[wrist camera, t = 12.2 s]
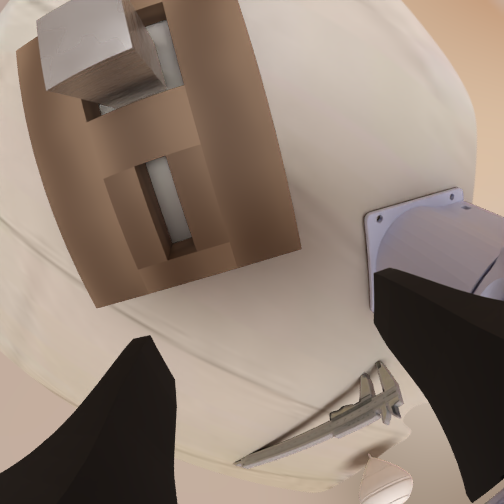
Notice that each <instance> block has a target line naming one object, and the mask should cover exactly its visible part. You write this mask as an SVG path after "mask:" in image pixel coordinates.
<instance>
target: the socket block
mask: <svg viewBox="0 0 504 504" xmlns="http://www.w3.org/2000/svg"><path fill="white" fill-rule="evenodd" d="M130 2H131V3H132V5H133V7H134V9H135V10H136V12H137V14H138V15H139V17H140V19H141V21H142V22H143V24H144V26H148V25H151V24H154V23H157V22H160V21H163V20H167V22H168V26H169V30H170V33H171V37H172V41H173V45H174V49H175V52H176V56H177V60H178V64H179V67H180V71H181V75H182V78H183V82H184V85H183V86H179V87H176V88H173V89H170V90H167V91H164V92H161V93H158V94H155V95H152V96H149V97H147V98H144V99H141V100H139V101H136V102H133V103H131V104H128V105H126V106H123V107H121V108H118V109H116V110H114V111H111V112H109V113H107V114H104V115H102V116H101V113H100V109H99V105H98V103H95V102H91V101H87V100H83V99H79V98H75V97H71V96H67V95H63V94H59V93H54V92H50V91H46V87H45V82H44V76H43V70H42V64H41V58H40V50H39V42H38V36H37V37H36V38H34V39H33V40H31V41H30V42H28V43H27V44H25V45H24V46H22V47H21V48H19V49H18V50H17V51H16V56H17V66H18V75H19V83H20V89H21V96H22V102H23V107H24V113H25V118H26V122H27V127H28V131H29V136H30V140H31V144H32V148H33V152H34V155H35V159H36V163H37V166H38V169H39V173H40V176H41V179H42V182H43V186H44V189H45V192H46V195H47V197H48V200H49V203H50V206H51V209H52V211H53V214H54V217H55V219H56V222H57V225H58V227H59V230H60V232H61V235H62V237H63V239H64V242H65V244H66V246H67V249H68V251H69V253H70V256H71V258H72V260H73V262H74V264H75V266H76V269H77V271H78V273H79V275H80V277H81V279H82V281H83V283H84V285H85V287H86V289H87V291H88V293H89V295H90V297H91V299H92V301H93V302H94V304H95V306H96V308H100V307H104V306H107V305H111V304H114V303H118V302H122V301H125V300H129V299H132V298H136V297H139V296H143V295H146V294H150V293H153V292H157V291H160V290H164V289H167V288H171V287H174V286H178V285H181V284H185V283H188V282H192V281H195V280H199V279H202V278H205V277H209V276H212V275H216V274H219V273H223V272H226V271H229V270H233V269H236V268H240V267H243V266H246V265H250V264H253V263H256V262H260V261H263V260H267V259H270V258H273V257H277V256H280V255H283V254H287V253H290V252H293V251H297V250H300V249H302V248H301V243H300V238H299V233H298V228H297V224H296V219H295V214H294V209H293V205H292V200H291V196H290V191H289V187H288V182H287V178H286V173H285V169H284V165H283V161H282V156H281V152H280V148H279V144H278V140H277V136H276V132H275V128H274V124H273V120H272V116H271V112H270V109H269V105H268V101H267V97H266V94H265V90H264V86H263V83H262V79H261V75H260V72H259V68H258V65H257V61H256V58H255V55H254V51H253V48H252V44H251V41H250V38H249V35H248V31H247V28H246V25H245V22H244V19H243V15H242V12H241V9H240V6H239V3H238V0H130ZM163 156H166V158H167V161H168V165H169V168H170V171H171V174H172V178H173V181H174V184H175V187H176V190H177V193H178V196H179V200H180V203H181V206H182V209H183V212H184V215H185V218H186V221H187V224H188V227H189V230H190V233H191V236H192V238H189V239H186V240H182V241H179V242H176V243H173V244H172V241H171V238H170V235H169V233H168V230H167V227H166V224H165V221H164V219H163V216H162V213H161V210H160V207H159V204H158V201H157V198H156V195H155V192H154V189H153V186H152V183H151V180H150V177H149V174H148V171H147V167H146V164H145V163H146V162H148V161H151V160H154V159H157V158H160V157H163Z"/></svg>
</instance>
